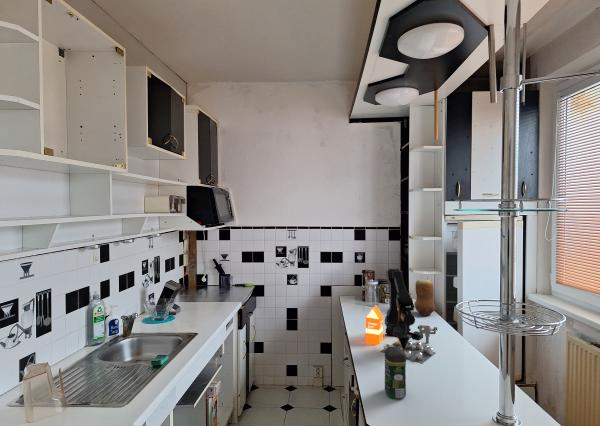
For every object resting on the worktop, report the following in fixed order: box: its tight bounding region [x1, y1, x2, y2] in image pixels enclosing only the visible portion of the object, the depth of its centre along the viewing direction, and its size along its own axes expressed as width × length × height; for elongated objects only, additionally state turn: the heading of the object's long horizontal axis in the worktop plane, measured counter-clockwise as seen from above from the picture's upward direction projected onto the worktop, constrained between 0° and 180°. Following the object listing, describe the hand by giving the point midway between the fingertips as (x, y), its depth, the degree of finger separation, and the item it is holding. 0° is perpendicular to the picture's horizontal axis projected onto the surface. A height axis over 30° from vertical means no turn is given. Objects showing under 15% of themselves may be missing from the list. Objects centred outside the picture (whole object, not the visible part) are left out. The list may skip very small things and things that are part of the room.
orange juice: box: [365, 305, 384, 346], centre depth 214 cm, size 8×9×20 cm
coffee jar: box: [384, 347, 407, 400], centre depth 156 cm, size 10×8×19 cm
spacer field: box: [383, 337, 434, 361], centre depth 197 cm, size 22×18×4 cm
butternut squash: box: [414, 279, 436, 317], centre depth 264 cm, size 14×13×25 cm
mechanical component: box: [417, 324, 438, 345], centre depth 210 cm, size 3×10×10 cm, turn 78°
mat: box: [379, 341, 437, 365], centre depth 198 cm, size 23×18×1 cm
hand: (403, 349), depth 199 cm, fingers closed
